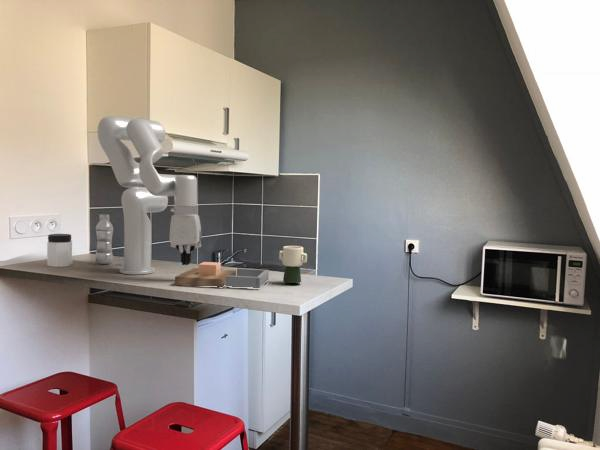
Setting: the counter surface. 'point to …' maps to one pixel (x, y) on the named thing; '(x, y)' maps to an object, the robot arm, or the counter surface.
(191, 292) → the counter surface
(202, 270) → the orange block
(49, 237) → the jar
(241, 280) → the box
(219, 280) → the platform
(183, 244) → the robot arm
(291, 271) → the character mug
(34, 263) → the counter surface
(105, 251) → the plastic bottle
